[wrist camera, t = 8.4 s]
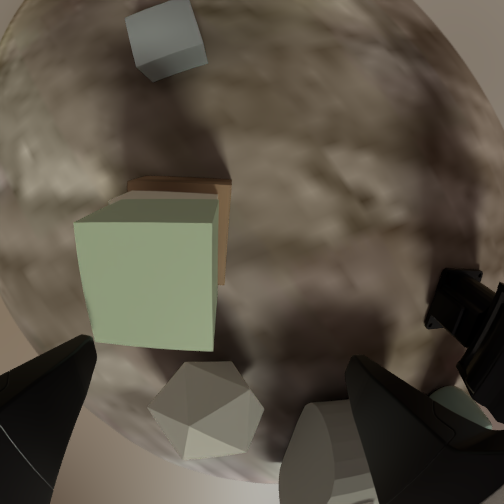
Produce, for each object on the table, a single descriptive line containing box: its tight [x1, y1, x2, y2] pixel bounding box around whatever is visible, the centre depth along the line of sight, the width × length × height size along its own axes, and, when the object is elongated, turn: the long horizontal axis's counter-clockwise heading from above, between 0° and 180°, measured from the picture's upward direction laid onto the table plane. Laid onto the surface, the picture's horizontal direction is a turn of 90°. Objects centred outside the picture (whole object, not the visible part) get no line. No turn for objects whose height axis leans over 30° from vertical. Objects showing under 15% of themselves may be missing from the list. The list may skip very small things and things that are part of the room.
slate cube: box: [125, 0, 208, 82], centre depth 14 cm, size 4×4×4 cm
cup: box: [429, 386, 492, 429], centre depth 25 cm, size 8×8×10 cm
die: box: [147, 361, 264, 460], centre depth 21 cm, size 8×9×10 cm
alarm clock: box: [279, 399, 379, 504], centre depth 23 cm, size 21×10×13 cm, turn 174°
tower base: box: [127, 176, 232, 285], centre depth 18 cm, size 6×6×4 cm
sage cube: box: [74, 199, 219, 351], centre depth 11 cm, size 4×4×4 cm
